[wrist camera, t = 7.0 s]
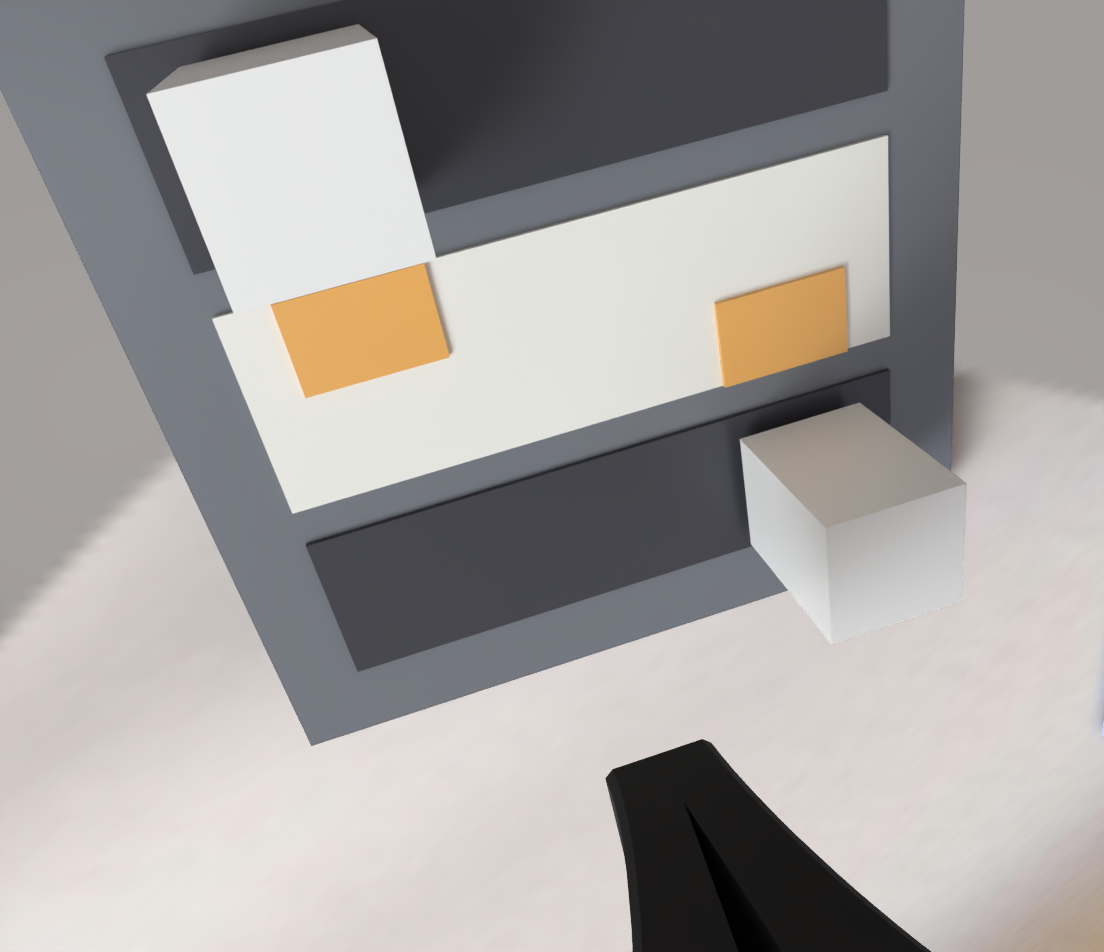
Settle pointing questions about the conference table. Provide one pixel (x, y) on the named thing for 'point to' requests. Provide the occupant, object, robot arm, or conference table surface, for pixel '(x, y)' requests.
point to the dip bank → (523, 310)
